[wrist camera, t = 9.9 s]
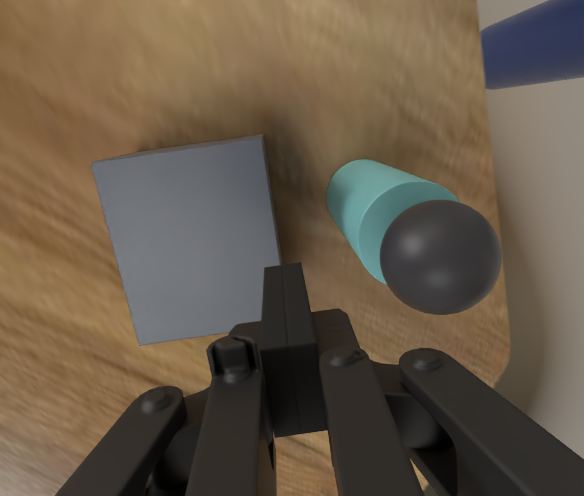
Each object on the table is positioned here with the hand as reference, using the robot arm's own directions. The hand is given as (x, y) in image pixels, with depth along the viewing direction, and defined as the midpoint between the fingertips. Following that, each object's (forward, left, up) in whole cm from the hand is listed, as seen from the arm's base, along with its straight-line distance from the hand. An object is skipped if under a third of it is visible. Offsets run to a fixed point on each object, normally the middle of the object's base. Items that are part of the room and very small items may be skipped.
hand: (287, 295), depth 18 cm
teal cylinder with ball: (-3, 0, -18) cm, 18 cm away
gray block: (+5, 0, -18) cm, 19 cm away
